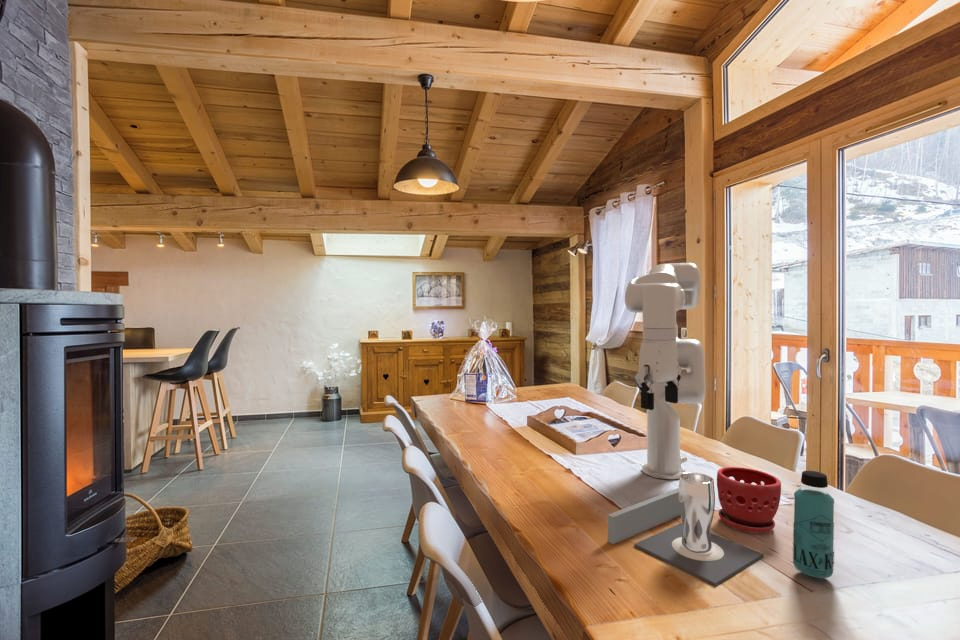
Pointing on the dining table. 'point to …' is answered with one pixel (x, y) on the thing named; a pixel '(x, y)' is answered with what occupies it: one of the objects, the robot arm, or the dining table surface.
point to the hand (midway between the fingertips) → (659, 405)
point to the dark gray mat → (705, 567)
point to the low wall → (643, 516)
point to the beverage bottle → (813, 527)
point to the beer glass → (696, 511)
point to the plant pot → (748, 499)
